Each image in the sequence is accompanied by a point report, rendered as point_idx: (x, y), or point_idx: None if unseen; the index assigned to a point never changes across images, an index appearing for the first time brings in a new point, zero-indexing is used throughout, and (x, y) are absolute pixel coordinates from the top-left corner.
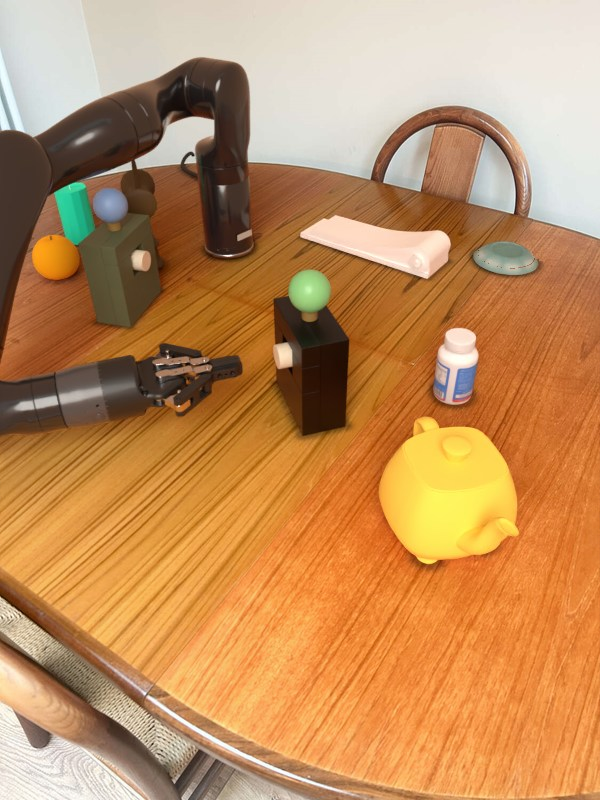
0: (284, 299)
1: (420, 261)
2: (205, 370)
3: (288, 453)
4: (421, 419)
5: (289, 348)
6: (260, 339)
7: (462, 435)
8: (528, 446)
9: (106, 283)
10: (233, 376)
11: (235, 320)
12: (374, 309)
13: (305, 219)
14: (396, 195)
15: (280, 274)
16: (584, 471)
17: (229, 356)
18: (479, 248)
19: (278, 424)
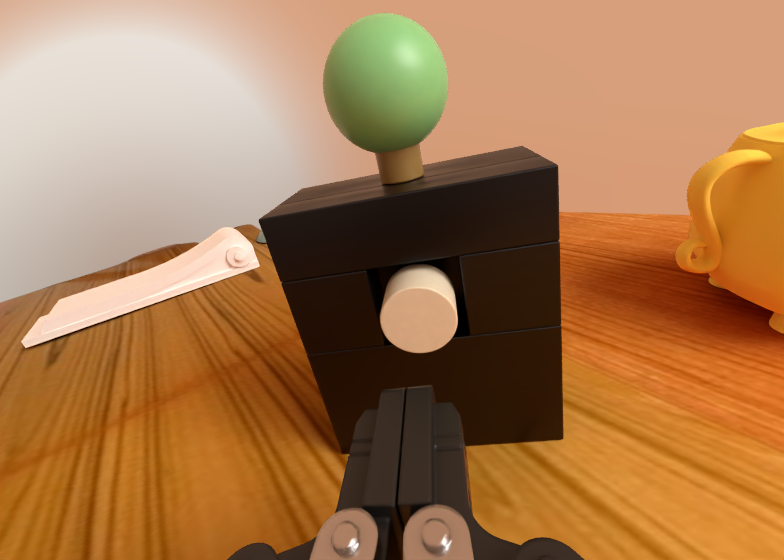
0: (285, 208)
1: (242, 250)
2: (470, 555)
3: (640, 485)
4: (727, 160)
5: (429, 271)
6: (174, 456)
7: (777, 131)
8: (590, 235)
9: None
10: (466, 456)
11: (54, 496)
12: (265, 304)
13: (3, 340)
14: (106, 272)
15: (55, 387)
16: (632, 216)
17: (378, 414)
18: (259, 236)
19: (506, 484)
